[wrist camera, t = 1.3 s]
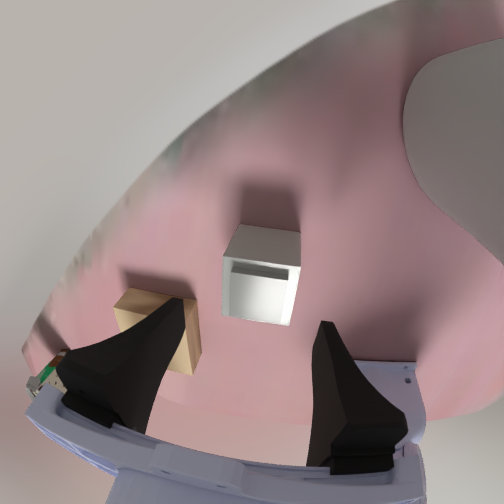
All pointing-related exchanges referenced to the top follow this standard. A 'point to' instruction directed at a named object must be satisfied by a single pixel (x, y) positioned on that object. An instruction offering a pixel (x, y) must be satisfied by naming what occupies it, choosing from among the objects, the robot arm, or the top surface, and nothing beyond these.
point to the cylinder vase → (461, 138)
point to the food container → (46, 377)
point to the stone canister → (261, 274)
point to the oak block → (145, 302)
